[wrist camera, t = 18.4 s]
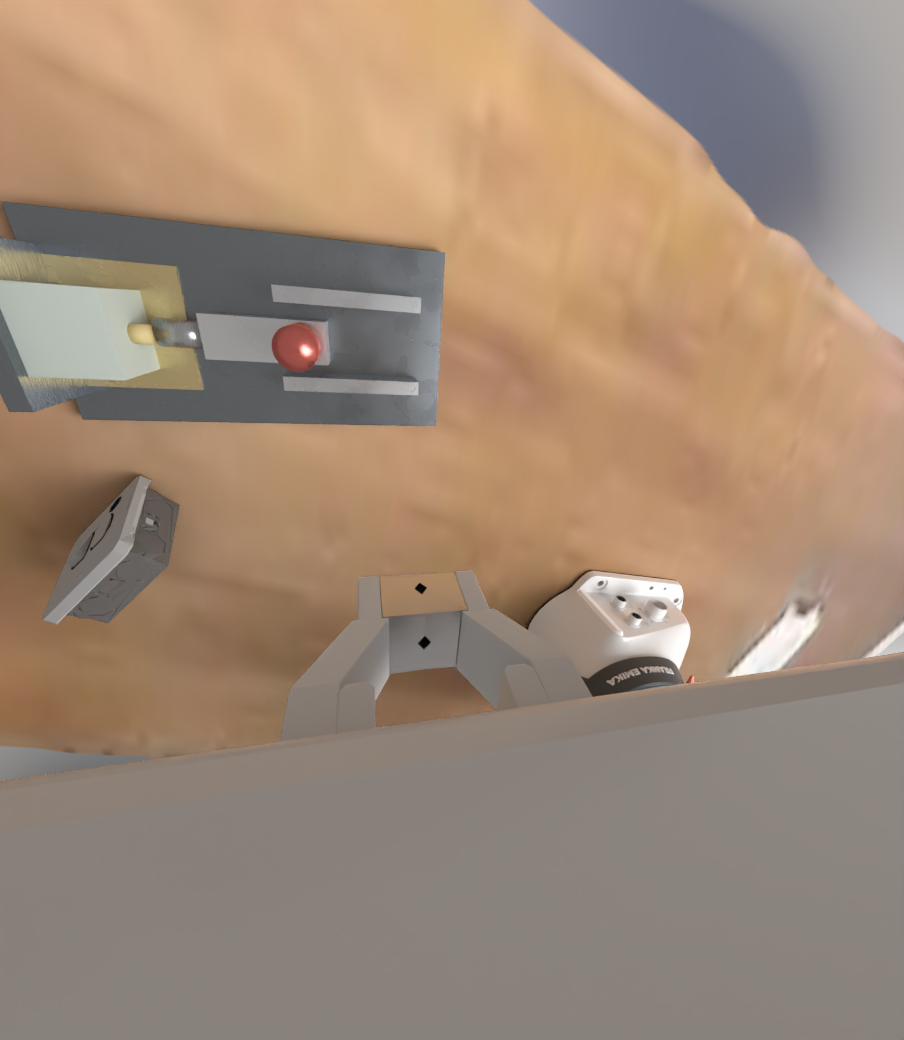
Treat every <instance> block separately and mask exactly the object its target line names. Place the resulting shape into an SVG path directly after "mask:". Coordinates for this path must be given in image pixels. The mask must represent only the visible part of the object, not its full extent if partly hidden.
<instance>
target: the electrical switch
mask: <svg viewBox="0 0 904 1040" xmlns="http://www.w3.org/2000/svg"><path fill="white" fill-rule="evenodd" d="M151 482H152V480H150V479H148V478H146V477H143V476H141V475H140V476H137V477H136V478H135V479H134V480H133V481H132V482H131V483H130V484H129V485H128V486H127V487H126V488H125V489H124V491H123V492H122V493H121V494H120V495H119V496H118V497H117V498H116V499H115V500H114V501H113V502H112V503H111V504H110V505H109V506H108V507H107V508H106V509H105V510H104V511H103V512H102V513H101V514H100V515H99V516H98V518H97V519H96V520H95V521H94V522H93V523H92V524H91V525H90V526H89V527H88V528H87V529H86V530H85V531H84V532H83V533H82V534H81V535H80V536H79V538H78V539H77V541H76V542H75V544H74V546H73V548H72V550H71V552H70V554H69V556H68V558H67V561H66V563H65V565H64V567H63V569H62V572H61V574H60V576H59V578H58V581H57V583H56V585H55V587H54V590H53V592H52V594H51V597H50V599H49V602H48V604H47V607H46V609H45V612H44V614H43V617H42V620H43V621H47V622H50V623H53V624H55V625H57V624H58V623H59V622H60V621H61V620H62V619H63V618H64V617H65V616H74V617H77V618H86V619H93V620H97V621H101V622H105V623H108V622H109V621H111V620H112V619H113V618H114V617H115V616H116V615H117V614H118V613H119V612H120V611H121V610H122V609H123V608H124V607H125V606H126V605H127V604H128V603H129V602H130V601H131V600H133V599H134V598H135V597H136V596H137V595H138V594H139V593H140V592H141V591H142V590H143V589H144V588H145V587H146V586H147V585H148V584H149V583H150V582H151V581H152V580H153V579H155V578H156V577H157V576H158V575H159V574H160V573H161V572H162V571H163V570H164V569H165V568H166V567H167V566H168V565H167V564H169V558H170V553H171V548H172V542H173V537H174V532H175V526H176V521H177V515H178V510H179V505H178V504H176V503H174V502H172V501H170V500H168V499H166V498H164V497H163V496H162V495H160V494H158V493H156V492H154V491H152V490H150V489H149V486H150V484H151ZM157 517H158V518H157ZM163 552H164V553H163ZM155 560H156V561H155ZM158 561H159V562H158ZM161 562H162V563H161ZM164 563H166V564H164ZM152 571H153V572H152Z"/></svg>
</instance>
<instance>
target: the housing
mask: <svg viewBox="0 0 904 1040" xmlns="http://www.w3.org/2000/svg"><path fill="white" fill-rule="evenodd" d="M0 309H1V312H2V314H3V316H4V319H5V321H6V323H7V326H8V328H9V331H10V333H11V335H12V338H13V340H14V343H15V345H16V347H17V350H18V352H19V355H20V357H21V359H22V362H23V364H24V366H25V369H26V371H27V374H28V376H29V377H46V378H73V379H99V380H128V379H131V378H134V377H137V376H140V375H143V374H147V373H150V372H153V371H156V370H159V369H160V365H159V362H158V358H157V354H156V350H155V346H154V345H155V344H156V340H155V338H154V335H153V331H152V326H151V325H149V324H148V320H147V316H146V312H145V309H144V305H143V301H142V297H141V294H140V290H129V289H117V288H104V287H92V286H80V285H67V284H55V283H40V282H25V281H9V280H0Z"/></svg>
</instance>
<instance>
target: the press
mask: <svg viewBox="0 0 904 1040" xmlns="http://www.w3.org/2000/svg"><path fill="white" fill-rule="evenodd" d="M2 205H3V208H4V210H5V213H6V216H7V218H8V221H9V224H10V226H11V229H12V232H13V234H14V237H15V240H12V239H7V238H1V237H0V280H9V281H25V282H40V283H55V284H67V285H80V286H92V287H104V288H117V289H129V290H140V294H141V297H142V301H143V305H144V309H145V312H146V316H147V320H148V324H149V325H151V326H152V320H153V318H155V317H157V318H172V319H186V320H197V316H196V313H204V312H215V313H229V314H243V315H256V316H270V317H284V318H298V319H311V320H325V321H328V330H329V344H330V359H331V361H330V363H329V365H313V366H312V367H311V368H310V369H308V370H306V371H304V372H293V371H290V370H287V369H286V368H284V367H283V366H281V365H280V364H279V363H269V362H249V361H229V360H209V359H205V354H204V350H203V349H194V348H176V347H161V346H159V345H158V343H157V342H156V344H155V345H154V346H155V350H156V354H157V358H158V362H159V365H160V369H159V370H156V371H153V372H150V373H147V374H143V375H140V376H137V377H134V378H131V379H128V380H99V379H73V378H46V377H29V376H28V374H27V371H26V369H25V366H24V364H23V362H22V359H21V357H20V355H19V352H18V350H17V347H16V345H15V343H14V340H13V338H12V335H11V333H10V331H9V328H8V326H7V323H6V321H5V319H4V316H3V314H2V312H1V309H0V393H1V396H2V398H3V400H4V402H5V404H6V406H7V409H8V411H9V412H35V411H38V410H41V409H44V408H47V407H50V406H53V405H56V404H59V403H62V402H65V401H68V400H71V399H74V398H75V400H76V402H77V405H78V408H79V410H80V413H81V416H82V418H83V419H85V420H137V421H189V422H240V423H292V424H343V425H395V426H436V412H437V394H438V375H439V357H440V338H441V320H442V301H443V282H444V264H445V252H436V251H427V250H419V249H410V248H401V247H393V246H384V245H375V244H366V243H358V242H349V241H340V240H332V239H323V238H314V237H306V236H297V235H288V234H280V233H271V232H262V231H253V230H245V229H236V228H227V227H219V226H210V225H201V224H193V223H184V222H175V221H167V220H158V219H149V218H140V217H132V216H123V215H114V214H106V213H97V212H88V211H80V210H71V209H62V208H53V207H45V206H36V205H27V204H19V203H10V202H2Z"/></svg>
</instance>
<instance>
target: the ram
mask: <svg viewBox="0 0 904 1040" xmlns="http://www.w3.org/2000/svg"><path fill="white" fill-rule="evenodd" d="M196 316H197V320H186V319H172V318H157V317H155V318H153V320H152V331H153V335H154V338H155V340H156V342H157V343H158V345H159V346H161V347H176V348H194V349H203V350H204V354H205V359H209V360H229V361H249V362H269V363H279V364H280V365H281V366H283V367H284V368H286V369H287V370H290V371H293V372H304V371H306V370H308V369H310V368H311V367H312V366H313V365H329V363H330V361H331V359H330V344H329V330H328V321H325V320H311V319H298V318H284V317H270V316H256V315H243V314H229V313H215V312H204V313H196Z"/></svg>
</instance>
